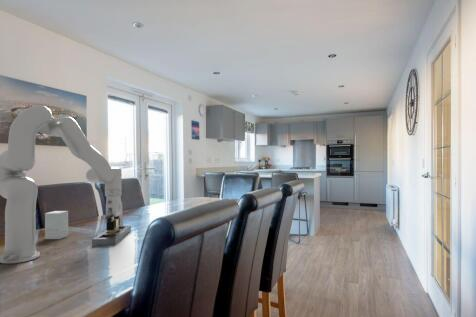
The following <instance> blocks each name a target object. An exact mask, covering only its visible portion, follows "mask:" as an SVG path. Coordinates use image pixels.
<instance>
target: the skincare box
mask: <svg viewBox="0 0 476 317" xmlns="http://www.w3.org/2000/svg"><path fill="white" fill-rule="evenodd" d="M121 211H122V213H121V214H120V217H119V218H120V225H119V226H124V215H123V214H124V213H123V211H124V210H123V202H122V201H121ZM111 219H112V217H111Z"/></svg>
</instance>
